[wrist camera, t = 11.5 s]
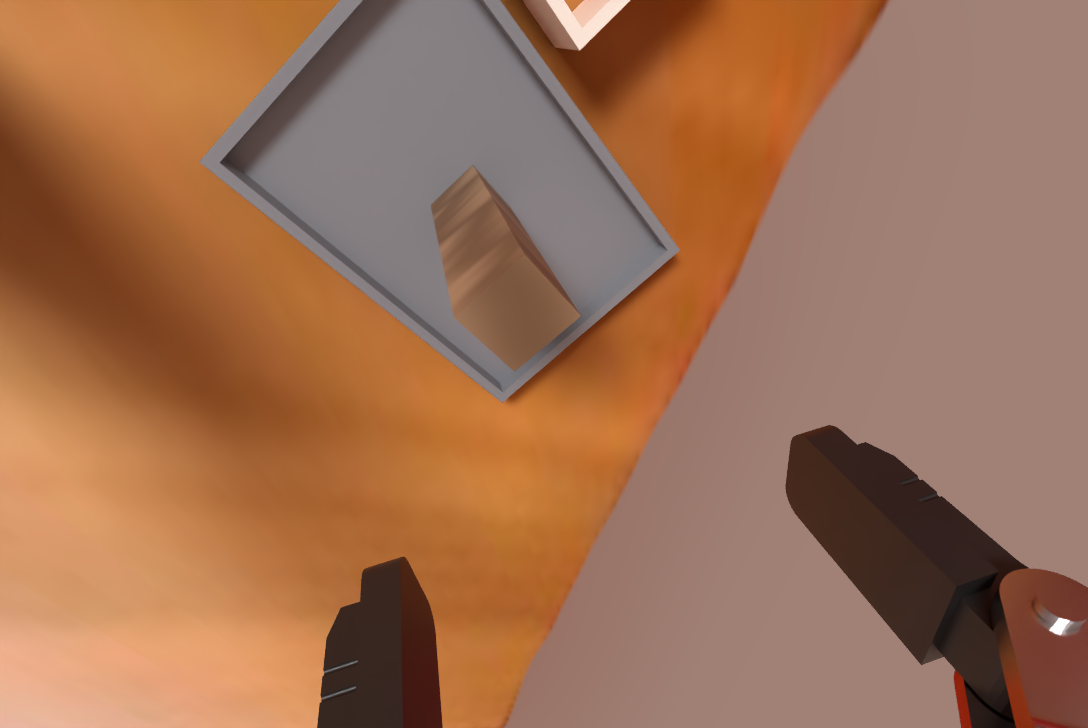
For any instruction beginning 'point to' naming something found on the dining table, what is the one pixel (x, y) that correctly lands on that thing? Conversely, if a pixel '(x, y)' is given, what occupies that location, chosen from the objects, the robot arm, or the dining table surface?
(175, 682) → the dining table surface
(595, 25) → the square frame
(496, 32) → the tray
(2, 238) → the dining table surface
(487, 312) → the peg
